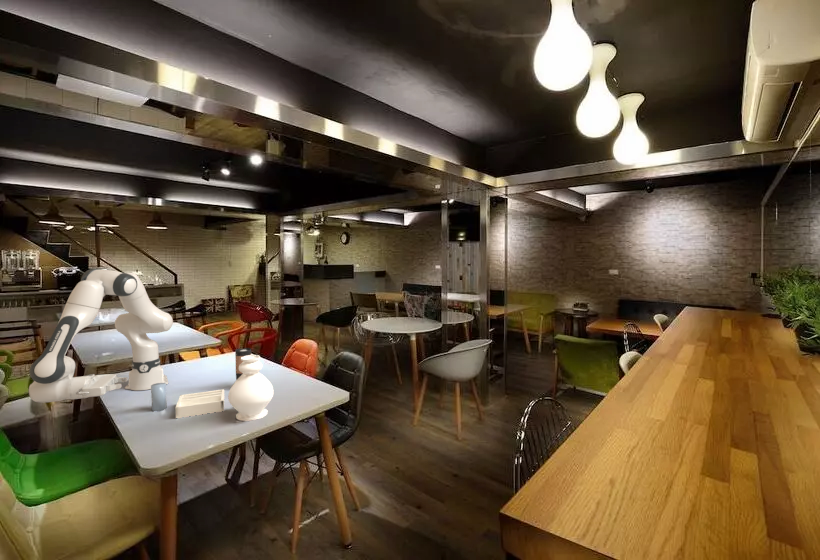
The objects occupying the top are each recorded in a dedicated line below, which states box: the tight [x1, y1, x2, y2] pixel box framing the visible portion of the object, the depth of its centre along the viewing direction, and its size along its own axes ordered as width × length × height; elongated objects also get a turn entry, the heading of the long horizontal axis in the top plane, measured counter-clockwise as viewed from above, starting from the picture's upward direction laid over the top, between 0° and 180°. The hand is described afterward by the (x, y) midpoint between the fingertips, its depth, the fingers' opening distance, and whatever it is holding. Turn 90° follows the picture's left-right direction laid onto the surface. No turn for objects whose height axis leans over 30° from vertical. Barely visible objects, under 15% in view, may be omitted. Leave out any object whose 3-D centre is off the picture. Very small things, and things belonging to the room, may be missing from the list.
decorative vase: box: [228, 354, 275, 422], centre depth 161 cm, size 18×18×25 cm
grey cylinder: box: [150, 383, 168, 412], centre depth 168 cm, size 6×6×11 cm
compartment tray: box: [174, 388, 225, 419], centre depth 169 cm, size 16×18×5 cm
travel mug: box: [234, 347, 252, 381], centre depth 195 cm, size 8×8×20 cm
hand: (124, 382), depth 162 cm, fingers open, 8 cm apart
